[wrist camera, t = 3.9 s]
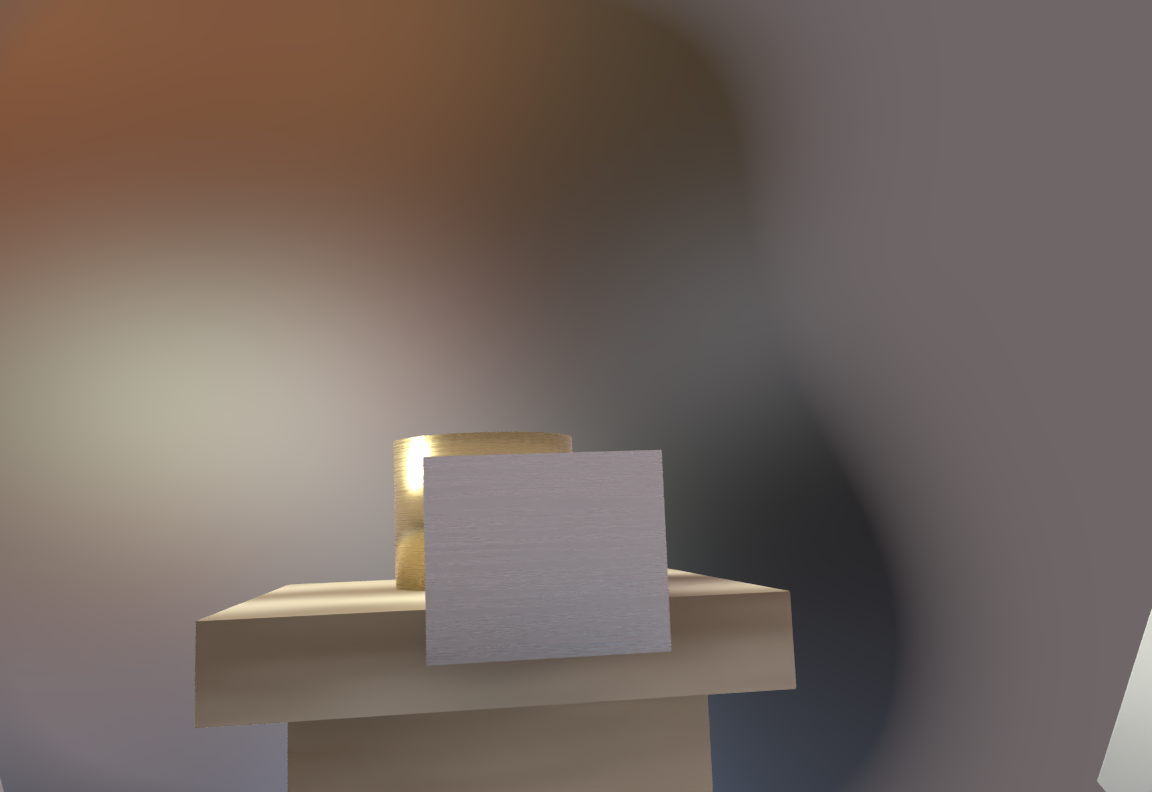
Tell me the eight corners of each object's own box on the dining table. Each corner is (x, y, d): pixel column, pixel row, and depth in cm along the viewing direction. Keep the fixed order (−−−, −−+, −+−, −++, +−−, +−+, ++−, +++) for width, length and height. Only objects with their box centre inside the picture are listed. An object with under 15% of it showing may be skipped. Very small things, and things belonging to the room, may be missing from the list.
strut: (749, 646, 12) (730, 333, 13) (341, 670, 11) (338, 336, 12) (564, 575, 30) (559, 445, 30) (399, 582, 29) (397, 449, 30)
